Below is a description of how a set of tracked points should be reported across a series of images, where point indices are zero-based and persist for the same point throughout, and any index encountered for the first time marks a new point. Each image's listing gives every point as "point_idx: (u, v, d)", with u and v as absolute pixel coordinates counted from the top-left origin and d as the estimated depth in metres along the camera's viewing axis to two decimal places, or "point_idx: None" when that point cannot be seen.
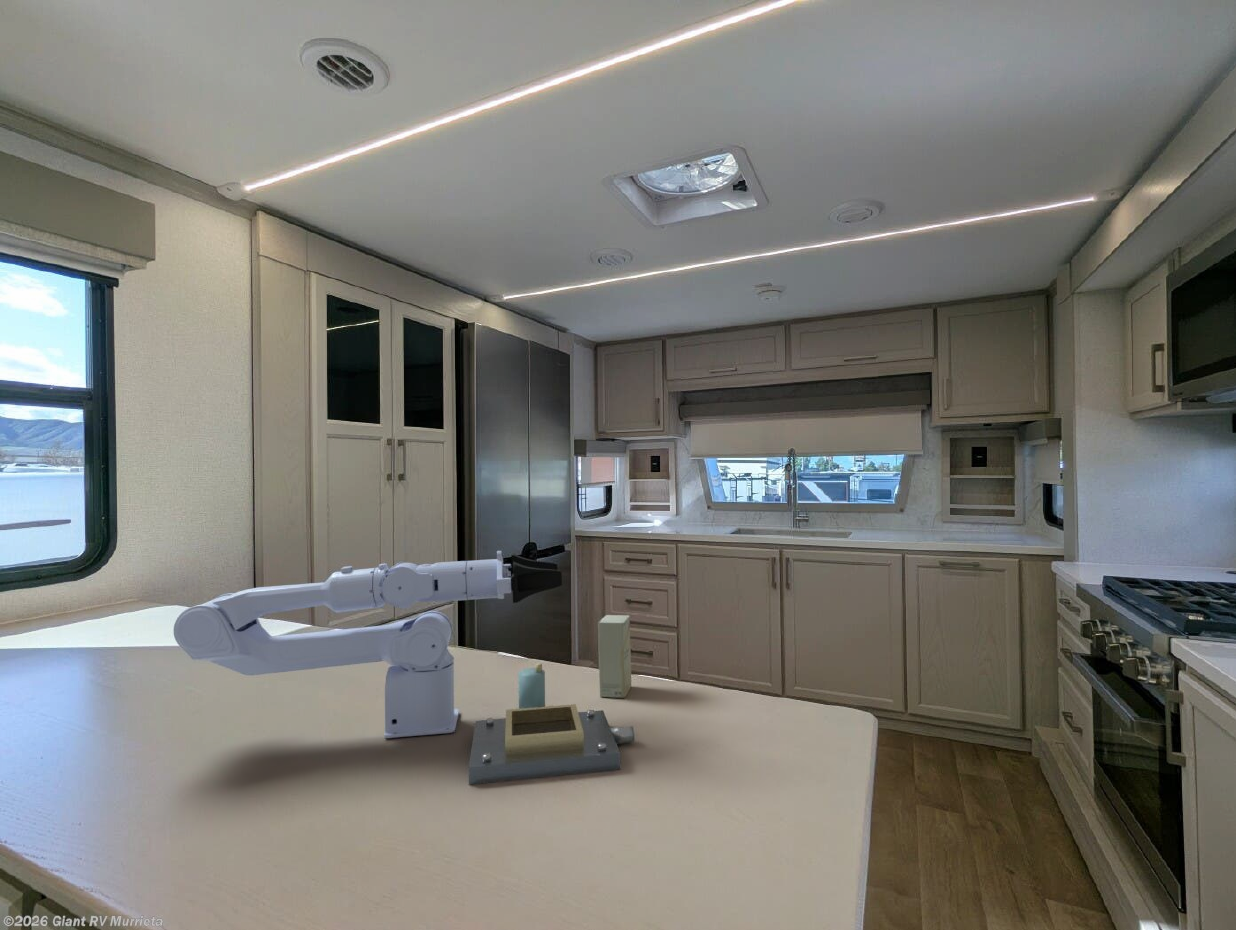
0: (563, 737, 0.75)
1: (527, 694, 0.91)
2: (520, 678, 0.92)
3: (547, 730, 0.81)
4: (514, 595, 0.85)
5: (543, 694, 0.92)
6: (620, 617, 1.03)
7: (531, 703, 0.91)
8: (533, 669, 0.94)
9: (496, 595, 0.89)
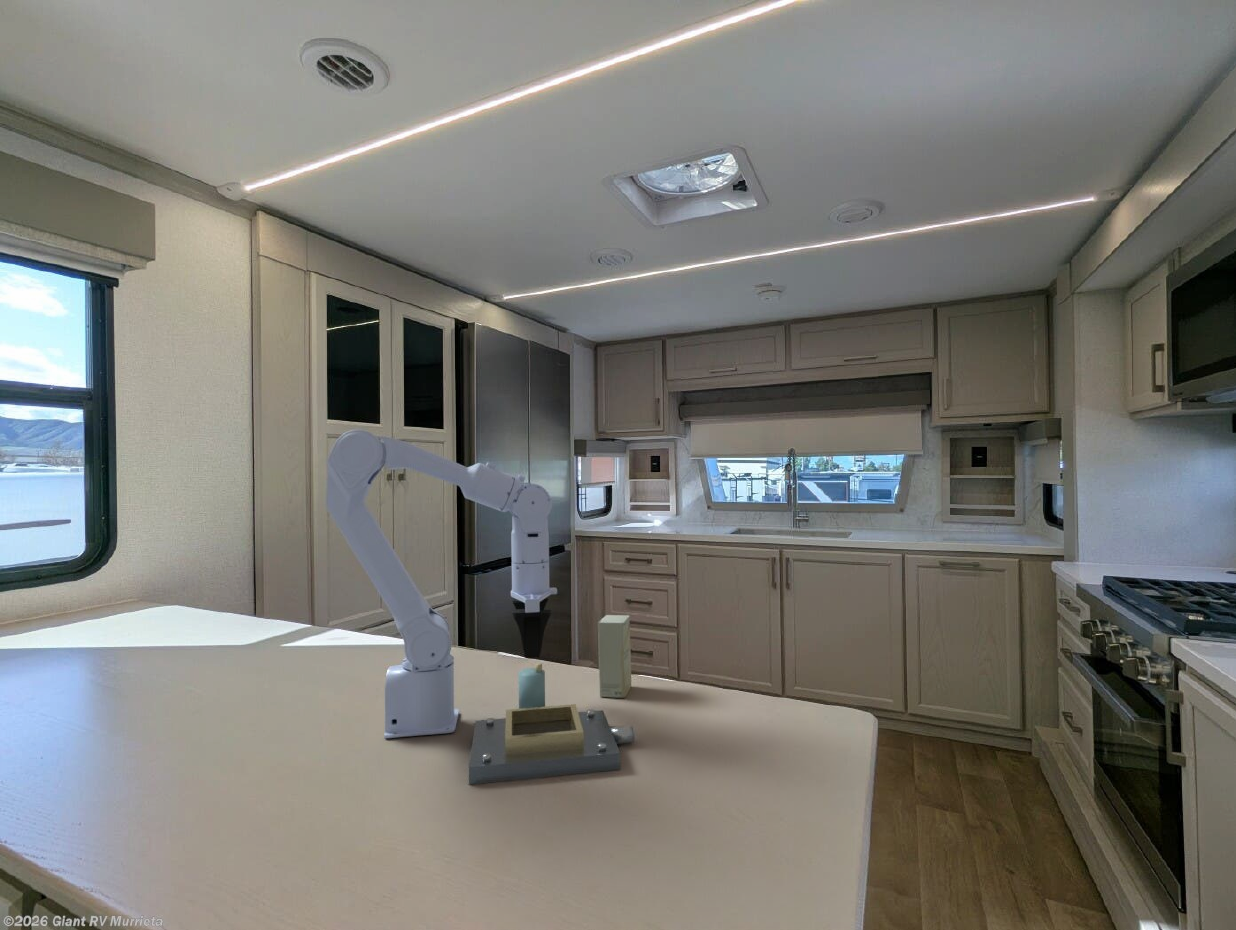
0: (563, 737, 0.75)
1: (527, 694, 0.91)
2: (520, 678, 0.92)
3: (547, 730, 0.81)
4: (521, 614, 0.87)
5: (543, 694, 0.92)
6: (620, 617, 1.03)
7: (531, 703, 0.91)
8: (533, 669, 0.94)
9: (516, 591, 0.91)
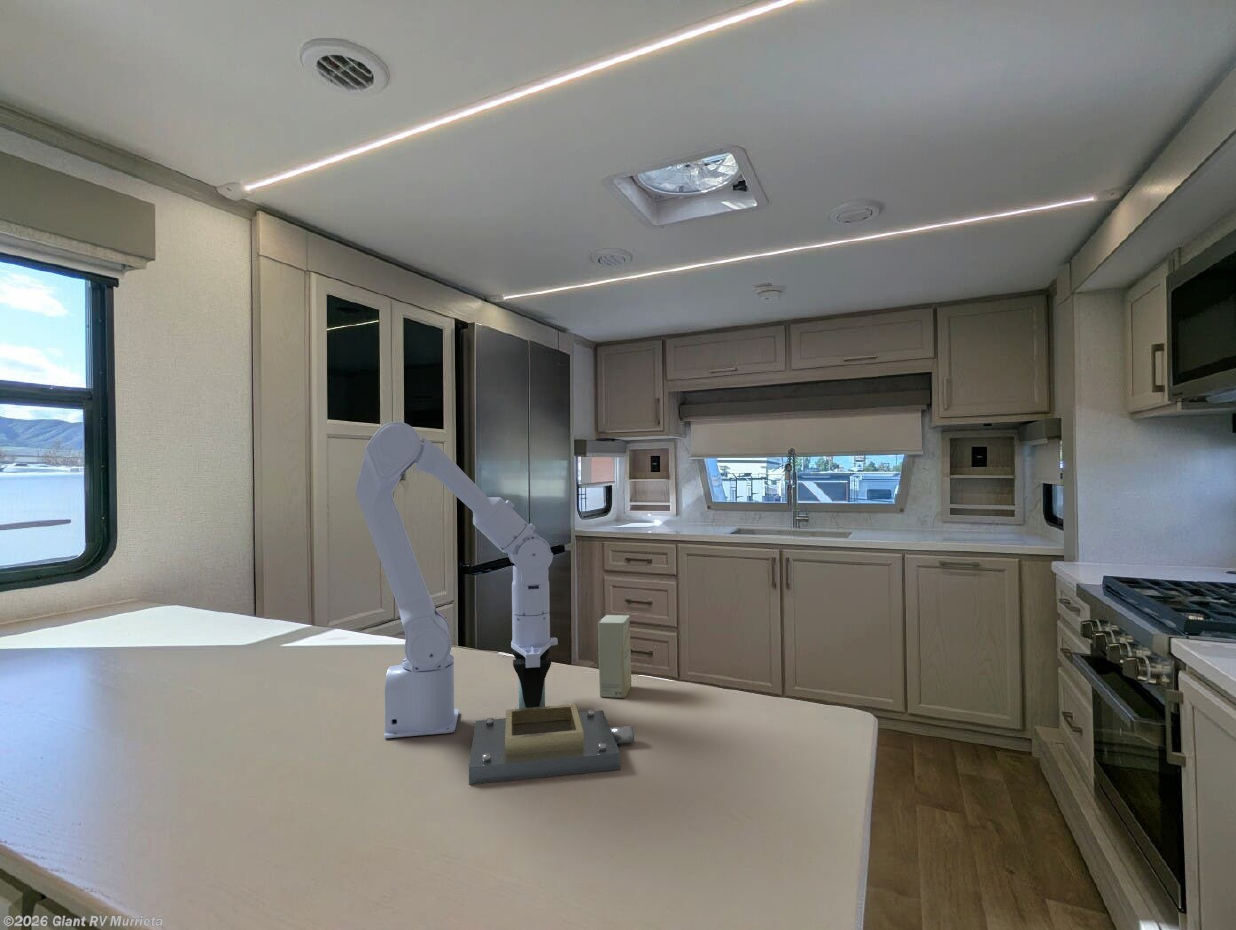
0: (563, 737, 0.75)
1: None
2: None
3: (547, 730, 0.81)
4: (521, 665, 0.88)
5: (543, 694, 0.92)
6: (620, 617, 1.03)
7: None
8: None
9: (516, 642, 0.91)
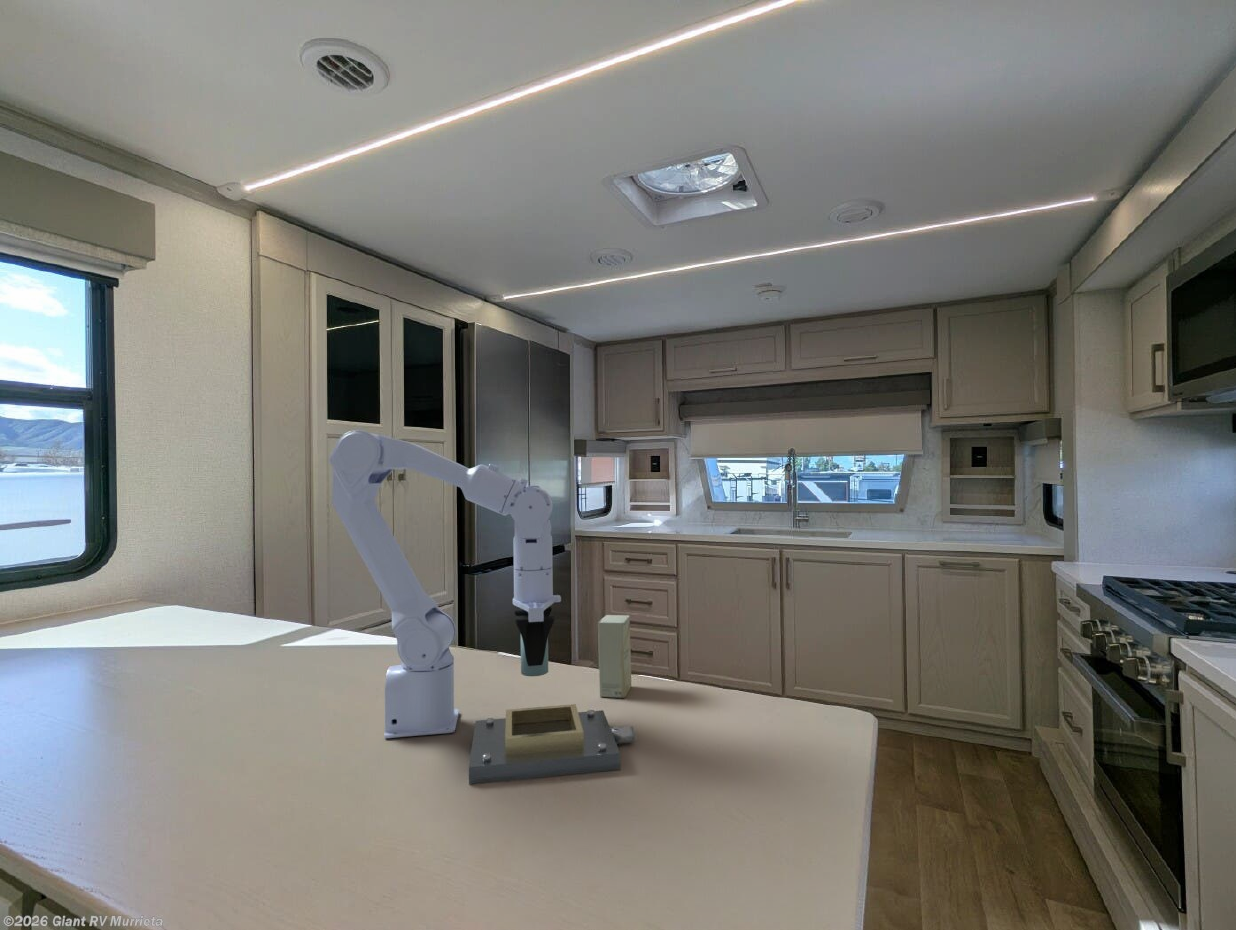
0: (563, 737, 0.75)
1: None
2: None
3: (547, 730, 0.81)
4: (523, 621, 0.85)
5: (546, 653, 0.89)
6: (620, 617, 1.03)
7: None
8: None
9: (518, 599, 0.88)
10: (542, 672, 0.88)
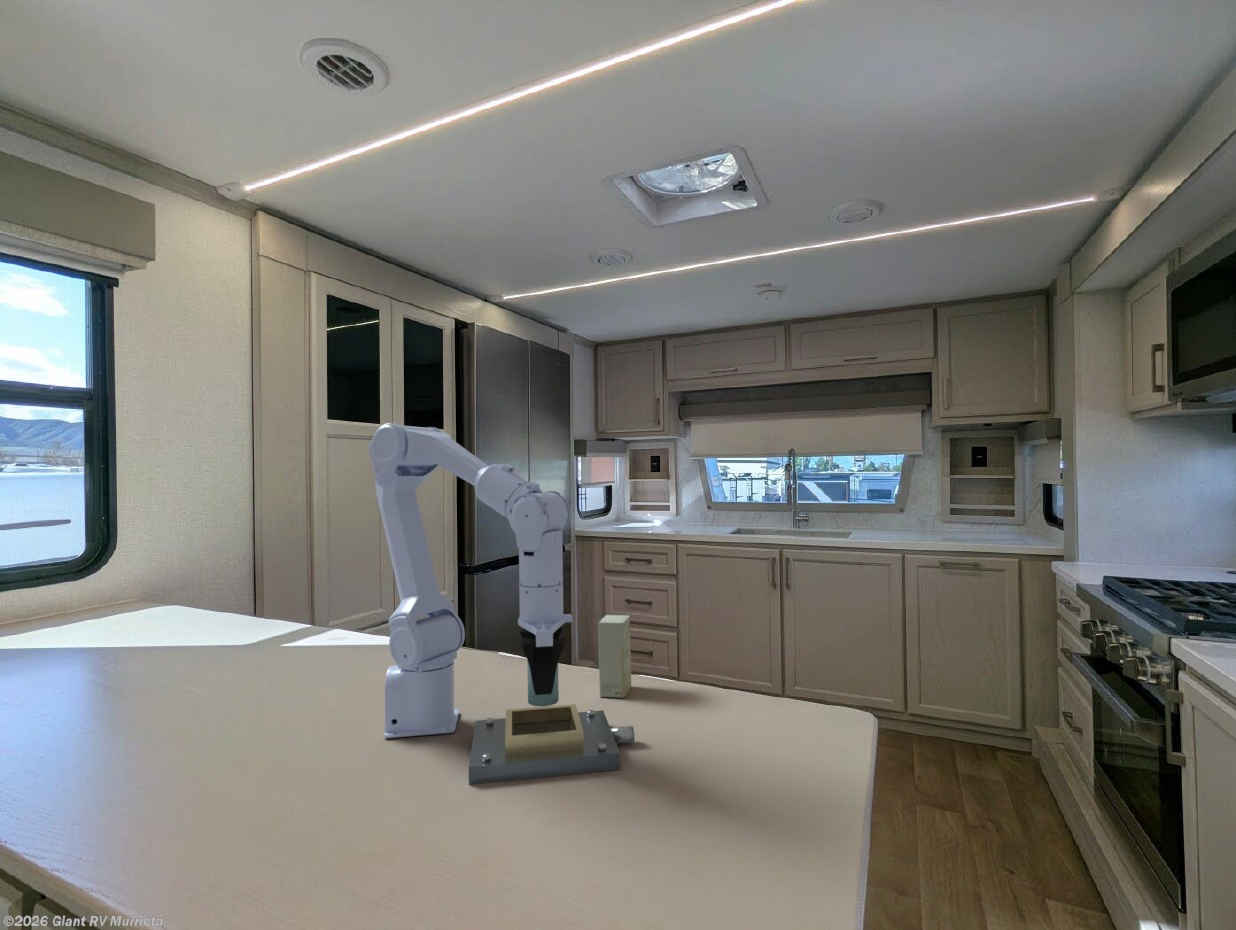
0: (563, 737, 0.75)
1: None
2: None
3: (547, 730, 0.81)
4: (530, 645, 0.75)
5: (556, 680, 0.79)
6: (620, 617, 1.03)
7: None
8: None
9: (524, 619, 0.78)
10: (552, 701, 0.78)
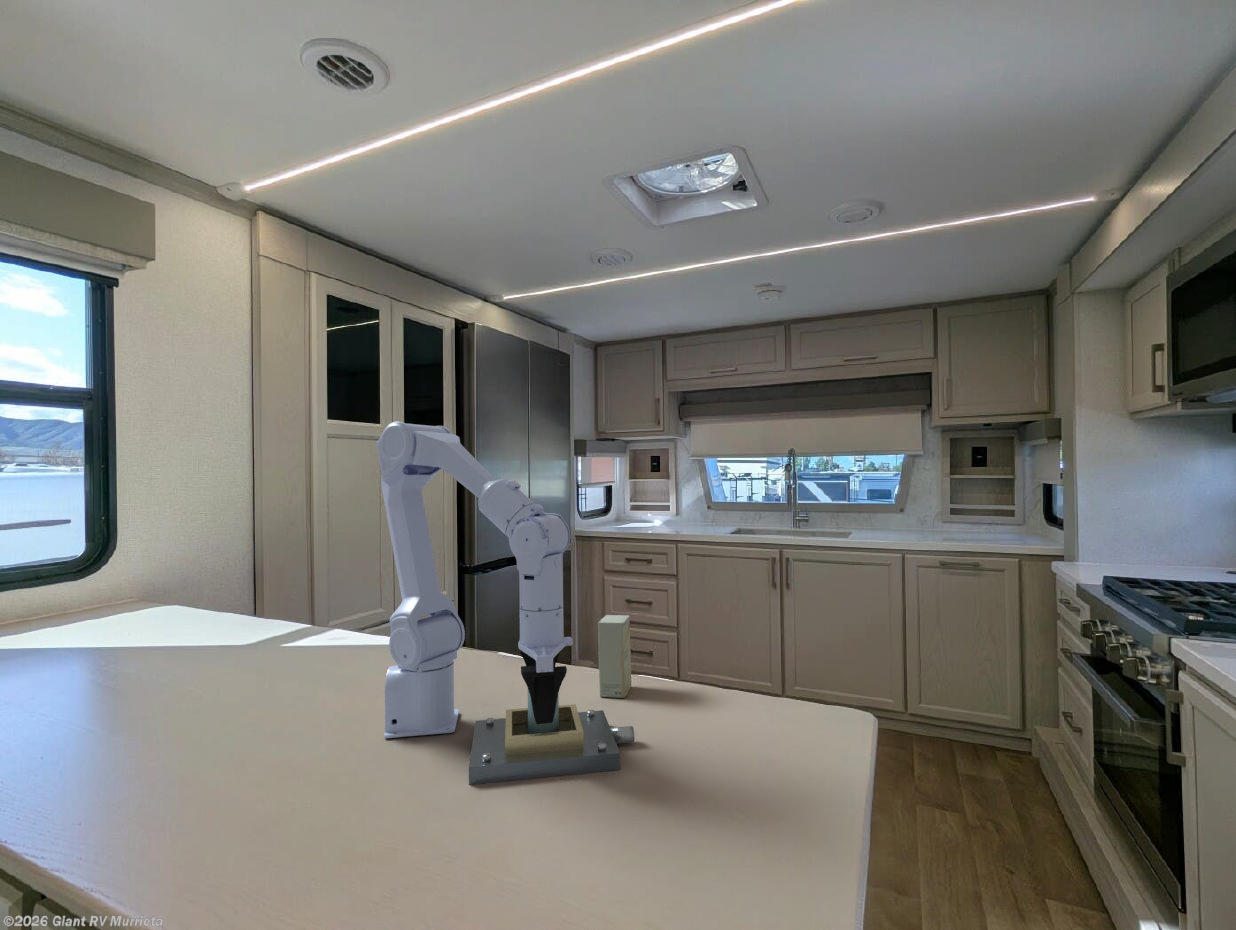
0: (563, 737, 0.75)
1: None
2: None
3: None
4: (531, 673, 0.73)
5: (556, 714, 0.79)
6: (620, 617, 1.03)
7: (542, 724, 0.77)
8: None
9: (524, 643, 0.78)
10: None
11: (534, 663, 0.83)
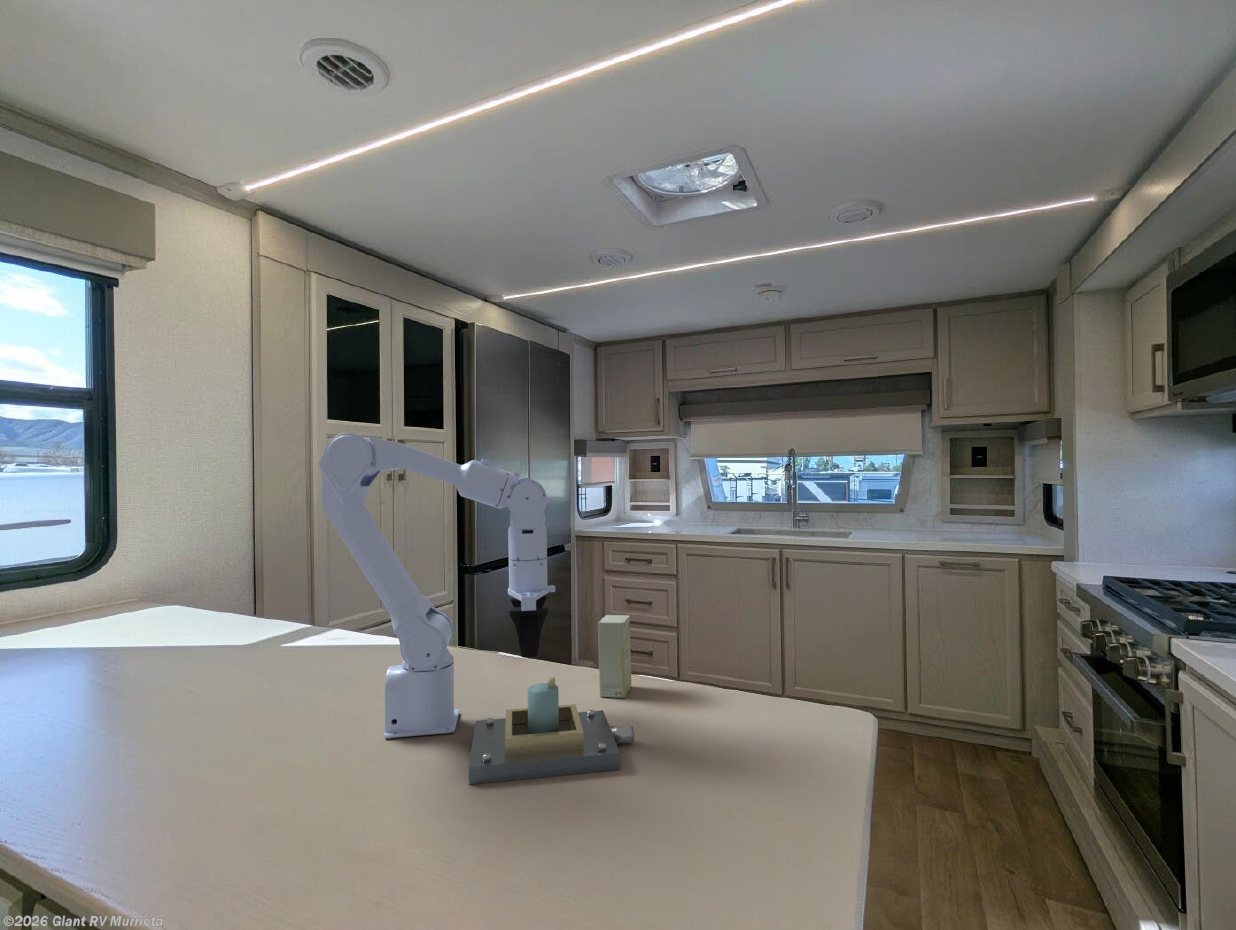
0: (563, 737, 0.75)
1: (538, 714, 0.77)
2: (530, 695, 0.78)
3: None
4: (517, 612, 0.85)
5: (556, 714, 0.79)
6: (620, 617, 1.03)
7: (542, 724, 0.77)
8: (544, 685, 0.81)
9: (513, 588, 0.89)
10: None
11: None
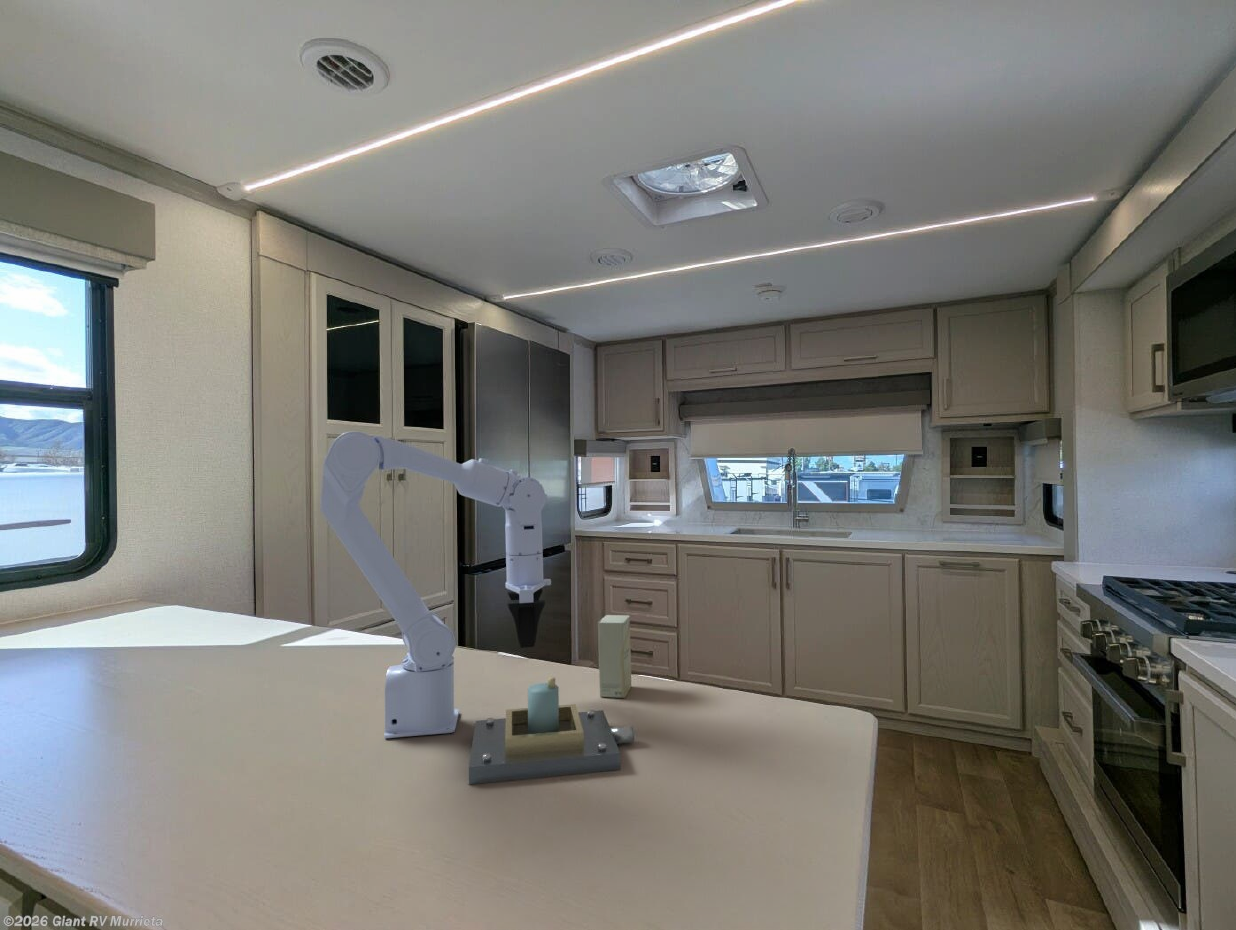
0: (563, 737, 0.75)
1: (538, 714, 0.77)
2: (530, 695, 0.78)
3: None
4: (515, 604, 0.89)
5: (556, 714, 0.79)
6: (620, 617, 1.03)
7: (542, 724, 0.77)
8: (544, 685, 0.81)
9: (510, 582, 0.93)
10: None
11: None
